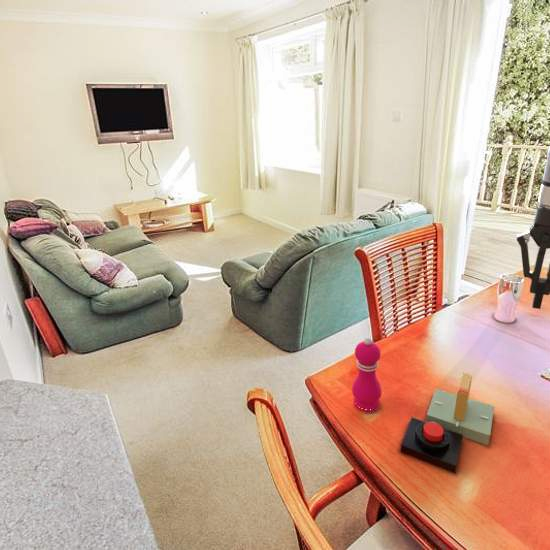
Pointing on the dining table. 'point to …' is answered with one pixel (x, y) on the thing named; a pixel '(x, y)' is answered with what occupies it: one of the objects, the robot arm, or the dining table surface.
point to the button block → (432, 446)
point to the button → (433, 432)
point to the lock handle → (462, 396)
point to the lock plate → (474, 419)
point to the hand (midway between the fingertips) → (536, 305)
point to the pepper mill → (367, 376)
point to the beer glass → (508, 297)
